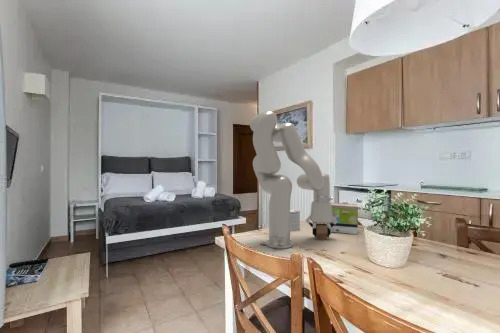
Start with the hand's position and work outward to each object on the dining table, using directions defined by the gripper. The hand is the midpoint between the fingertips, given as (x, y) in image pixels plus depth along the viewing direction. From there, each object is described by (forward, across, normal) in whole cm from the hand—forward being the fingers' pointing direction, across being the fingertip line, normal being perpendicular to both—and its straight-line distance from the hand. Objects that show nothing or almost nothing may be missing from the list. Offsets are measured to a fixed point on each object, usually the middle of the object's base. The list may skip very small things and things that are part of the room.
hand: (321, 235), depth 128 cm
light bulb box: (+2, +15, -18) cm, 23 cm away
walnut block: (+1, 0, 0) cm, 1 cm away
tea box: (+2, -13, -16) cm, 21 cm away
